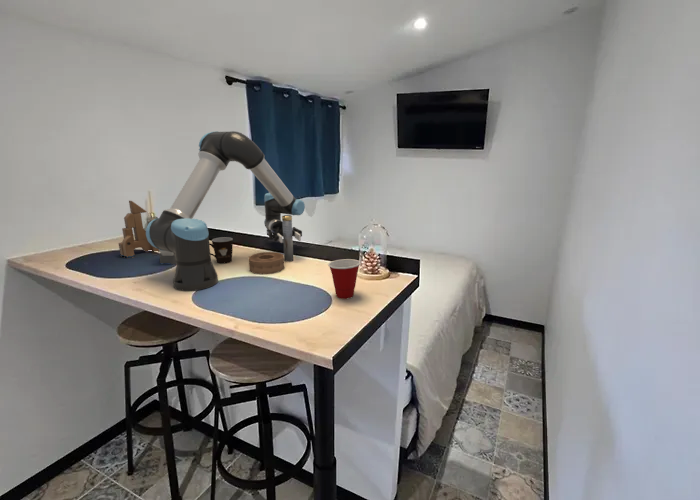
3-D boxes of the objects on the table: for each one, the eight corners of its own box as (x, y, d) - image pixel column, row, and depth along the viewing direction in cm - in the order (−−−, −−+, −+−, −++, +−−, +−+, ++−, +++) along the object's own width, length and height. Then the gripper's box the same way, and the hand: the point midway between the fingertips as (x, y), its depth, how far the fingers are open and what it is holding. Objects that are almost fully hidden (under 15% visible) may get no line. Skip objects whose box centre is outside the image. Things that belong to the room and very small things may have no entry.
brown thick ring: (285, 272, 147) (285, 260, 145) (249, 275, 143) (248, 263, 142) (282, 262, 160) (281, 251, 158) (249, 264, 156) (248, 253, 155)
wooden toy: (126, 258, 164) (117, 203, 157) (120, 256, 168) (111, 202, 161) (161, 251, 176) (153, 199, 169) (154, 249, 179) (147, 198, 173)
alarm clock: (177, 265, 155) (172, 223, 150) (154, 265, 155) (147, 223, 150) (194, 254, 171) (189, 216, 166) (172, 254, 171) (167, 216, 166)
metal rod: (294, 261, 161) (292, 216, 155) (284, 262, 160) (282, 217, 154) (293, 258, 165) (291, 214, 159) (283, 259, 164) (281, 215, 158)
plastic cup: (342, 287, 131) (342, 255, 128) (366, 294, 125) (367, 261, 122) (321, 296, 123) (321, 262, 120) (346, 304, 117) (346, 269, 113)
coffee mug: (237, 258, 164) (235, 237, 161) (229, 264, 156) (227, 242, 153) (212, 258, 165) (210, 236, 162) (203, 263, 157) (201, 241, 154)
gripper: (298, 233, 180) (313, 244, 160) (257, 237, 172) (267, 249, 152) (298, 218, 178) (313, 228, 158) (256, 222, 170) (266, 232, 150)
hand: (290, 238), depth 155 cm, fingers open, 7 cm apart
